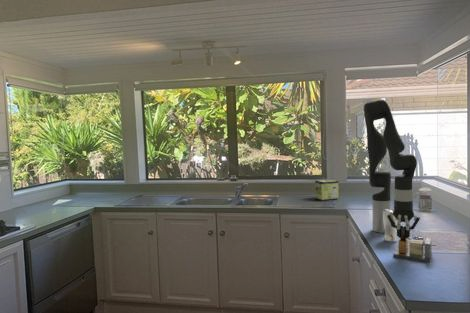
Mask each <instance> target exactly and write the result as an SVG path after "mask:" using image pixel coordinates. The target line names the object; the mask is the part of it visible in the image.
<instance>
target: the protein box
mask: <svg viewBox="0 0 470 313" xmlns="http://www.w3.org/2000/svg"><path fill="white" fill-rule="evenodd" d="M314 182H315V184H314V187H315V192H314V193H315V200H317V201H320V202H330V201H329V200H332V201H338V200H337V199H339V181H338V180H335V179H322V180H315V181H314Z"/></svg>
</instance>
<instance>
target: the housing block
mask: <svg viewBox="0 0 470 313" xmlns="http://www.w3.org/2000/svg"><path fill="white" fill-rule="evenodd" d="M409 248H410V254H416V255H423V250H424V240H421V239H414V238H413V239H410V240H409Z"/></svg>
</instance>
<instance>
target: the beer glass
mask: <svg viewBox="0 0 470 313" xmlns="http://www.w3.org/2000/svg"><path fill="white" fill-rule="evenodd" d="M393 212H394V209H391V208H390V209H386V210H383V224H384V230H385V233H384V237H383V240H384V241H385V242H391V243H393V242H397V241H398V239H397V237H398V236H397V229H396V228H393V227H392V225H391V223H390V221H389V219H388V217H387V215H388V214H392V213H393ZM393 220H394V222H395V224H396V225H397V221H398V220H397V219H396V218H395V216H393Z"/></svg>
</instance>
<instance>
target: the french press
mask: <svg viewBox="0 0 470 313" xmlns="http://www.w3.org/2000/svg"><path fill="white" fill-rule="evenodd" d="M427 175H428V174H427V173H423V176H427ZM432 191H433V189H431V188H428V187H422V188H419V189H418V191H416V194H414V195H413V200H414V201H415V202H416V203H418V208H417V211H418V212H424V213H425V212H427V213H428V212H429V213H430V212H434V210H433V209H432V208H433V204H432V203H433V201H432V200H433V198H432V195H430V194H429V195H428V194H421V193H420V192H424V193H427V192H432ZM417 194H418V195H419V197H418V201H417V200H416V196H417Z"/></svg>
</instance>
